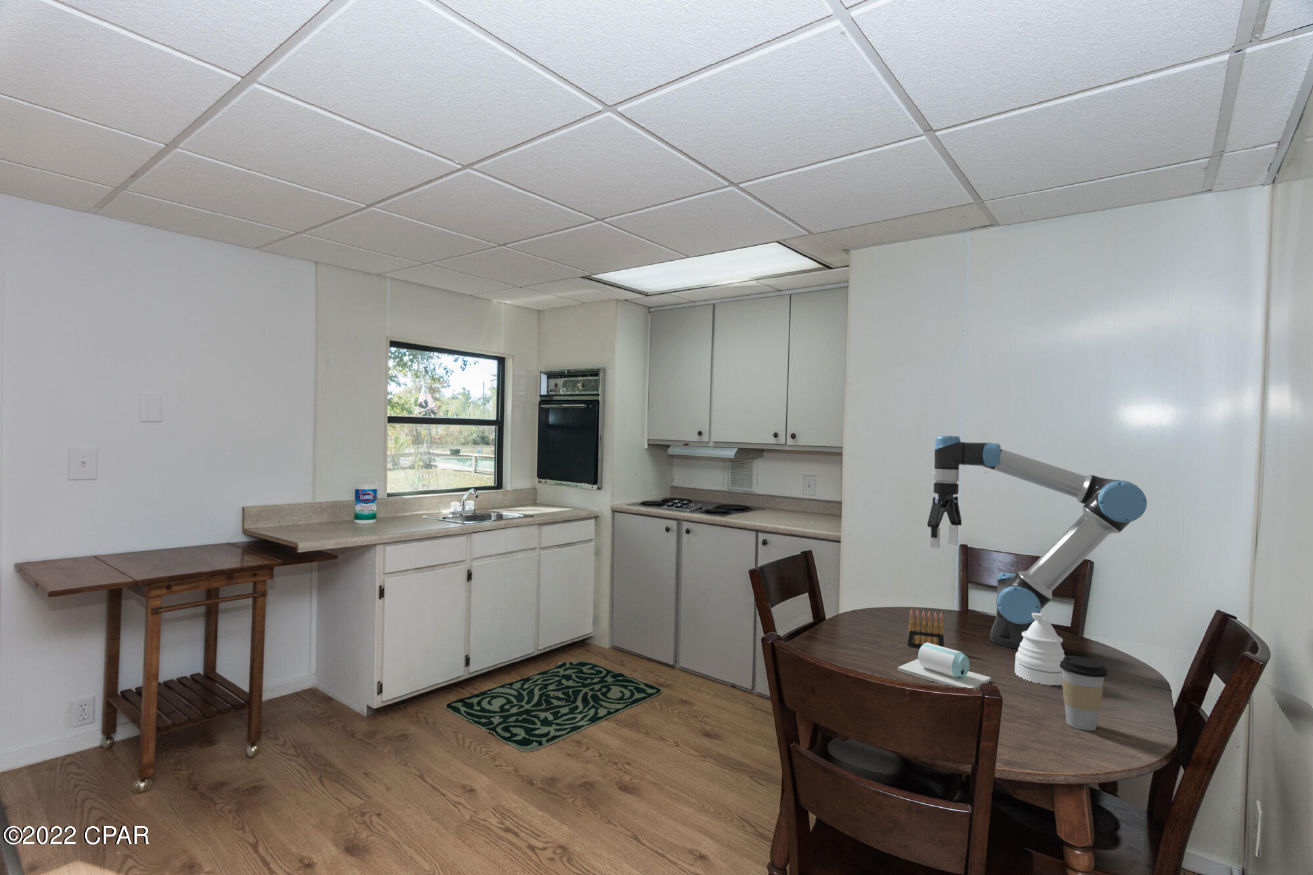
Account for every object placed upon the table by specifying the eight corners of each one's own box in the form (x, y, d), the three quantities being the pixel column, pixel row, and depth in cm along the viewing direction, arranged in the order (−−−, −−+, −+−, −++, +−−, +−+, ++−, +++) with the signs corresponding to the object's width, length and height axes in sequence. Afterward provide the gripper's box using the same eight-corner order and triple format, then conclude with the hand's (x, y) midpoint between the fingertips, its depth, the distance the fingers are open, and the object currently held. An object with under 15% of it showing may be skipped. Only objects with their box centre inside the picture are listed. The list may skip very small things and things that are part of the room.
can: (931, 658, 187) (972, 670, 178) (919, 671, 183) (960, 684, 174) (927, 637, 185) (968, 648, 176) (914, 650, 181) (956, 662, 172)
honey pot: (1041, 687, 174) (1043, 620, 174) (1004, 670, 186) (1006, 608, 187) (1078, 684, 177) (1080, 619, 178) (1039, 667, 190) (1041, 607, 190)
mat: (897, 670, 183) (897, 667, 183) (920, 660, 192) (920, 657, 192) (969, 692, 168) (969, 689, 168) (990, 681, 177) (990, 677, 177)
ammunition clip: (943, 649, 205) (944, 611, 205) (944, 650, 203) (945, 612, 203) (907, 644, 208) (908, 607, 208) (907, 646, 206) (909, 609, 206)
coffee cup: (1048, 716, 154) (1050, 654, 154) (1085, 716, 155) (1087, 654, 155) (1077, 734, 145) (1079, 668, 145) (1116, 734, 146) (1118, 668, 146)
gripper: (951, 480, 224) (949, 541, 224) (917, 481, 207) (915, 547, 207) (973, 482, 218) (971, 544, 218) (940, 483, 202) (938, 551, 201)
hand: (944, 546), depth 213 cm, fingers open, 13 cm apart
